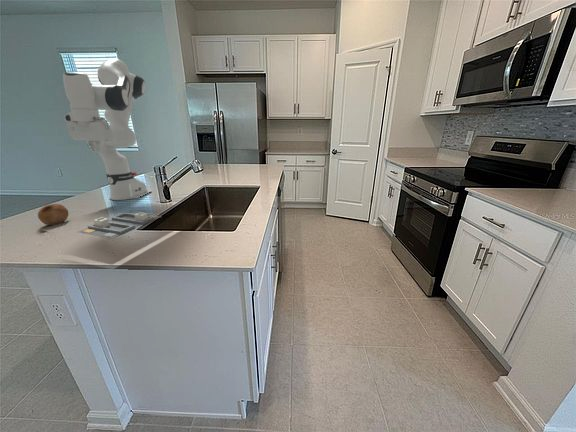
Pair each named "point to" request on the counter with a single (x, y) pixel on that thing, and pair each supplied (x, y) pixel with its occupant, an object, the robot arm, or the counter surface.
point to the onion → (53, 214)
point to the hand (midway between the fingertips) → (95, 152)
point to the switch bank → (118, 225)
